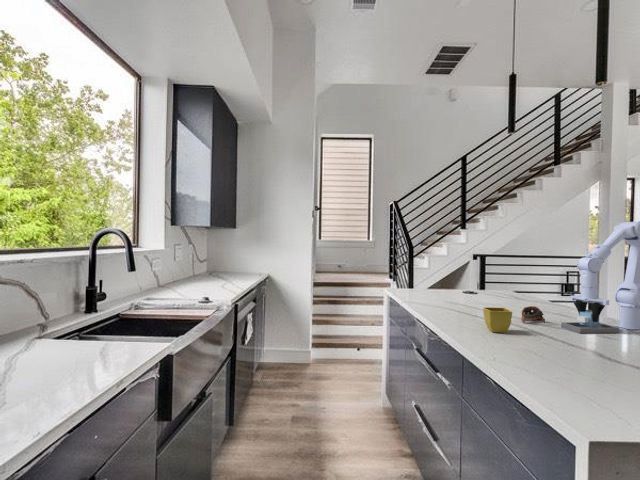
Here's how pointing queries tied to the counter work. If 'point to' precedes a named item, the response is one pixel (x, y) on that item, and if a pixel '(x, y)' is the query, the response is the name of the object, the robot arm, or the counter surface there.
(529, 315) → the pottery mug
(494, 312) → the flower pot
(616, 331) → the tray
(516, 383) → the counter surface
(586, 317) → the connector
